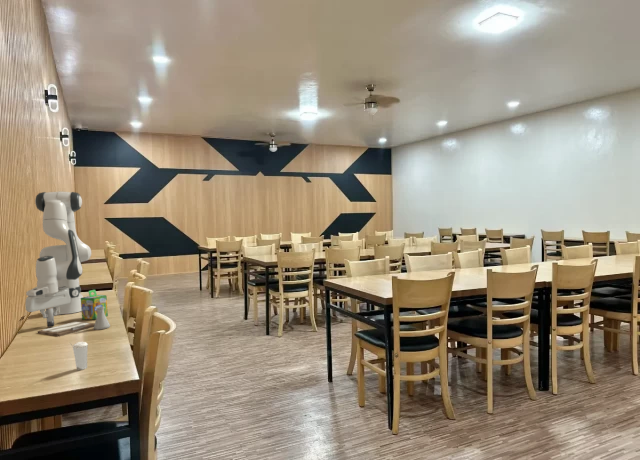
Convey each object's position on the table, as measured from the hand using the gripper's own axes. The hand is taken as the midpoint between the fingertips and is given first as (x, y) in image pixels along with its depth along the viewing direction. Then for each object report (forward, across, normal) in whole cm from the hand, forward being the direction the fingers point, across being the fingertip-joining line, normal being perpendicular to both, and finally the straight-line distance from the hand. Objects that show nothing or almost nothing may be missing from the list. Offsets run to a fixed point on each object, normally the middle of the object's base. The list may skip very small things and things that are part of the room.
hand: (50, 316), depth 215 cm
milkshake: (+4, +34, +76) cm, 83 cm away
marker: (+4, 0, 0) cm, 4 cm away
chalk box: (+6, -21, +4) cm, 22 cm away
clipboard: (+5, 0, +14) cm, 15 cm away
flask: (+5, -7, +29) cm, 31 cm away
